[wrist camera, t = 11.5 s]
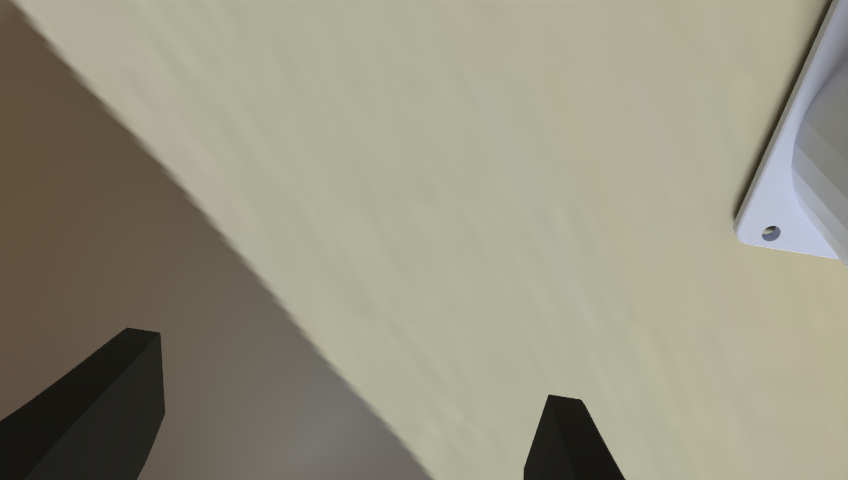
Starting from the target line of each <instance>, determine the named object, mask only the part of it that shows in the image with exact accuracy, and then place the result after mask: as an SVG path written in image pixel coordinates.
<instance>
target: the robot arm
mask: <svg viewBox="0 0 848 480" xmlns="http://www.w3.org/2000/svg"><path fill="white" fill-rule="evenodd" d="M769 226H776V228H775V229H774V231H773V232H771V233H769V234H762V232H763V231H764V229H765V228H767V227H769ZM733 230H734V233H735V235H736V236H737V238H738V239H739V240H740V241H741V242H742V243H745V244H748V245H754V246H760V247H767V248H773V249H779V250H785V251H791V252H797V253H803V254H809V255H815V256H821V257H827V258H833V259H839V260H841V261H842V262H843V264H844V265H845V266H846V267H847V269H848V0H833V1H832V3H831V6H830V8H829V10H828V12H827V15H826V17H825V19H824V21H823V24H822V26H821V28H820V30H819V33H818V35H817V37H816V39H815V42H814V44H813V46H812V48H811V51H810V53H809V55H808V57H807V60H806V62H805V64H804V66H803V69H802V71H801V73H800V75H799V78H798V80H797V82H796V84H795V87H794V89H793V91H792V93H791V95H790V98H789V100H788V102H787V104H786V107H785V109H784V111H783V113H782V116H781V118H780V120H779V122H778V125H777V127H776V129H775V131H774V134H773V136H772V138H771V140H770V143H769V145H768V147H767V149H766V152H765V154H764V156H763V158H762V161H761V163H760V165H759V167H758V170H757V172H756V174H755V176H754V179H753V181H752V183H751V185H750V188H749V190H748V192H747V194H746V197H745V199H744V201H743V203H742V206H741V208H740V210H739V212H738V215H737V217H736V219H735V221H734V225H733ZM164 415H165V403H164V388H163V370H162V354H161V336H160V333H158V332H152V331H145V330H139V329H132V328H126V329H125V330H123V331H122V332H120V333H119V334H117V335H116V336H115V337H114V338H112V339H111V340H110V341H108V342H107V343H106V344H104V345H103V346H102V347H101V348H99V349H98V350H97V351H95V352H94V353H93V354H92V355H90V356H89V357H88V358H86V359H85V360H84V361H83V362H81V363H80V364H79V365H77V366H76V367H75V368H73V369H72V370H71V371H70V372H68V373H67V374H66V375H64V376H63V377H62V378H60V379H59V380H58V381H56V382H55V383H54V384H52V385H51V386H49V387H48V388H47V389H45V390H44V391H43V392H41V393H40V394H39V395H37V396H36V397H35V398H33V399H32V400H30V401H29V402H28V403H26V404H25V405H23V406H22V407H21V408H19V409H18V410H16V411H15V412H14V413H12V414H11V415H9V416H7V417H6V418H4V419H3V420H1V421H0V480H137V478H138V476H139V474H140V472H141V470H142V469H143V466H144V465H145V462H146V460H147V458H148V455H149V453H150V450H151V448H152V446H153V443H154V440H155V438H156V435H157V433H158V430H159V428H160V425H161V422H162V420H163V417H164ZM524 480H625V478H624V476H623V475H622V473H621V471H620V469H619V468H618V466H617V464H616V462H615V461H614V459H613V457H612V455H611V453H610V452H609V450H608V448H607V446H606V444H605V442H604V441H603V439H602V437H601V435H600V433H599V431H598V429H597V427H596V425H595V423H594V422H593V420H592V418H591V416H590V414H589V412H588V410H587V408H586V406H585V404H584V403H583V402H582V400H580V399H574V398H567V397H561V396H555V395H548V398H547V401H546V404H545V407H544V410H543V413H542V416H541V419H540V422H539V425H538V428H537V431H536V434H535V437H534V440H533V443H532V446H531V449H530V452H529V455H528V458H527V461H526V464H525V467H524Z"/></svg>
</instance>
